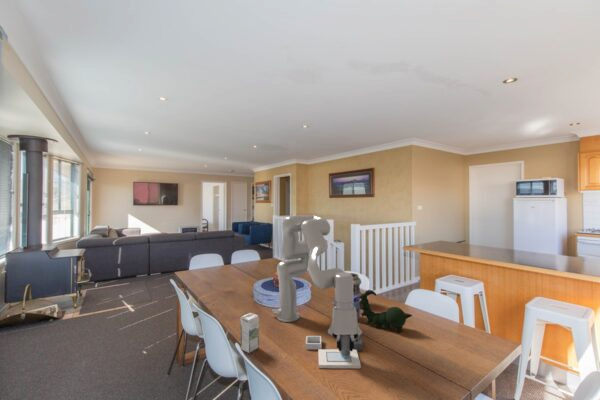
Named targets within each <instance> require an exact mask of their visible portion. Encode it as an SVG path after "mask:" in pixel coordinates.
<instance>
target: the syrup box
mask: <svg viewBox="0 0 600 400" xmlns="http://www.w3.org/2000/svg"><path fill="white" fill-rule="evenodd" d="M259 322H260V321H259V315H257V314H255V313H252V312H249V313H247V314H244V315H242V316H240V350H242V351H244V352H245V353H248V354H250V353H252V352H254V351H255V350H257V349H259V348H260V347H259V346H260V338H259V335H260V329H259V328H260V327H259V326H260V324H259Z"/></svg>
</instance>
